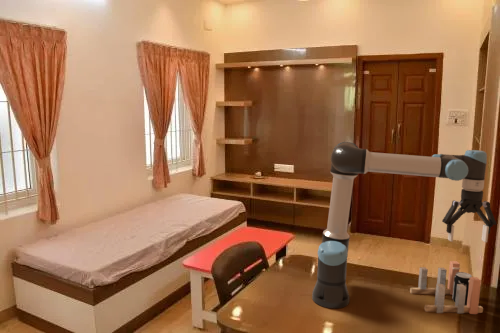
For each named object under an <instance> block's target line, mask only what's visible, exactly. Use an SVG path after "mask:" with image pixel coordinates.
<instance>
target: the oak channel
mask: <svg viewBox="0 0 500 333" xmlns="http://www.w3.org/2000/svg"><path fill="white" fill-rule="evenodd" d="M409 292H410V294H413V295H414V294H415V295H416V294H418V295H435V294H436V287H426V289H420V288H418V287H410V288H409ZM445 295H451V294H450V289H449V288H448V287H447V288H446V287H445ZM456 310H457V307H456V306H455V305H450V304H449V305H445V304H444V308H443V313H457V312H456ZM424 311H425V312H426V313H427V312H428V313H431V312H432V313H434V312H435V313H436V306H435V304H424ZM483 311H484V308H483V306H481V305H478V313H477V314H481V313H483ZM464 313H469V307H468V306H467V305H464Z"/></svg>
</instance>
